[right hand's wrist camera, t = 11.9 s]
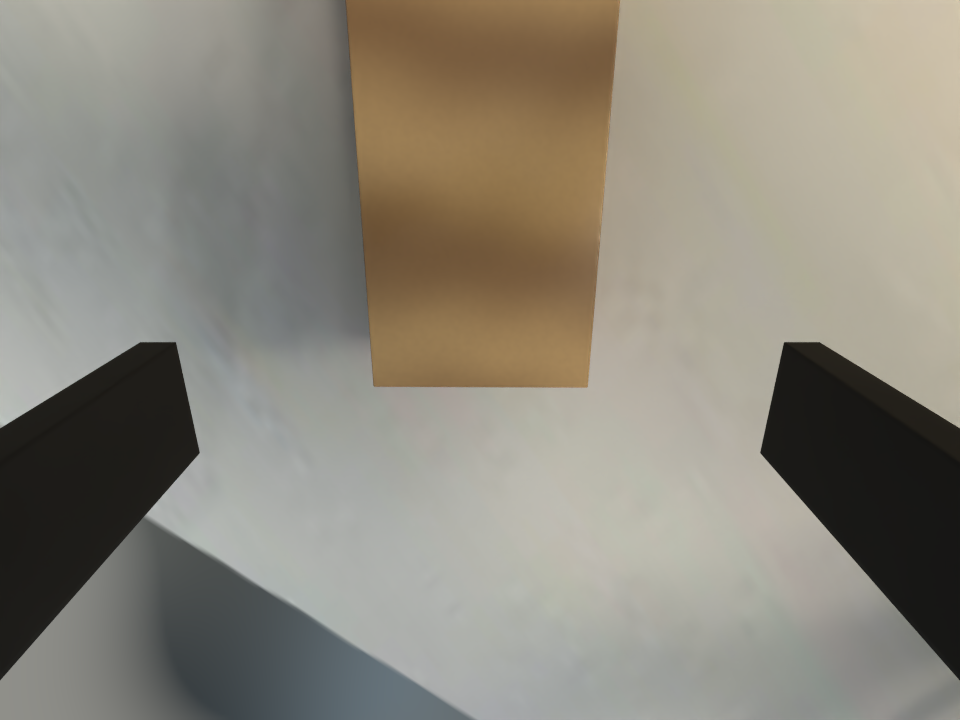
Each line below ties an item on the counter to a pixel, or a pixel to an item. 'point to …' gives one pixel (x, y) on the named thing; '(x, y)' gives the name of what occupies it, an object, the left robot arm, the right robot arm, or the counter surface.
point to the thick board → (481, 185)
